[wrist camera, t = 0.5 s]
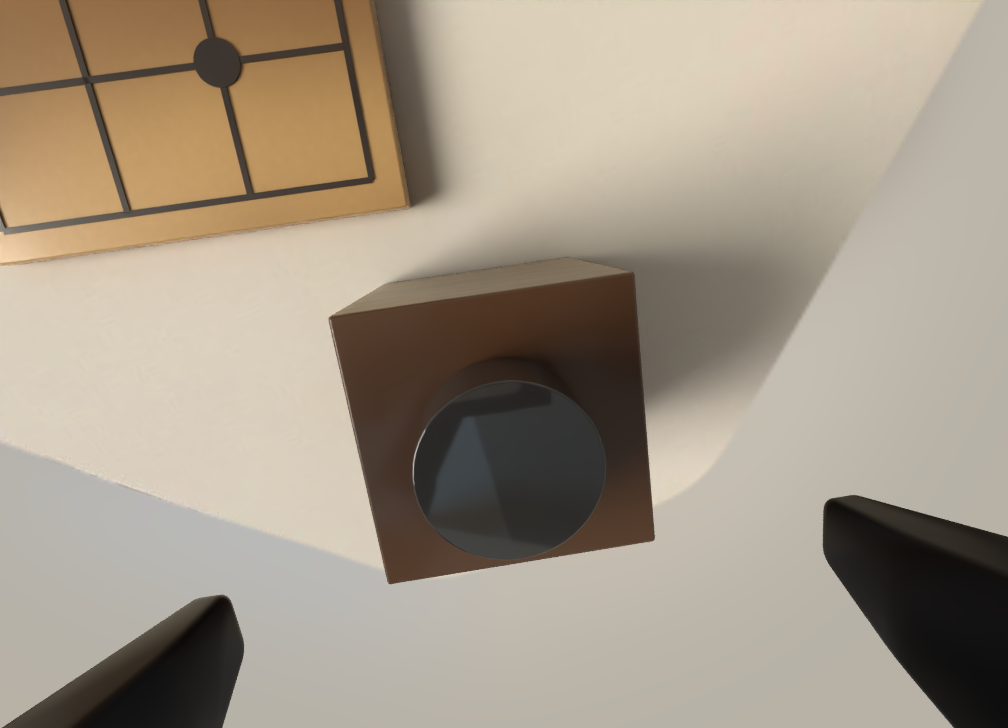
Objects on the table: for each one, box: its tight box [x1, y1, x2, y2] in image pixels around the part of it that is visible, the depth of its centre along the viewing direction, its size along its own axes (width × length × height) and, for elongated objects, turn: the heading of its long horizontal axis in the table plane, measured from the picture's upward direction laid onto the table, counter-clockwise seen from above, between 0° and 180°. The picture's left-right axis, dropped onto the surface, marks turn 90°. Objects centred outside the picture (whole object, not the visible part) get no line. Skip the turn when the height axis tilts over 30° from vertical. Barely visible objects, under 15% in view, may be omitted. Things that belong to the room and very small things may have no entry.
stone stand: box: [329, 257, 655, 584], centre depth 17 cm, size 7×7×8 cm
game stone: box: [412, 358, 606, 560], centre depth 12 cm, size 4×4×2 cm
